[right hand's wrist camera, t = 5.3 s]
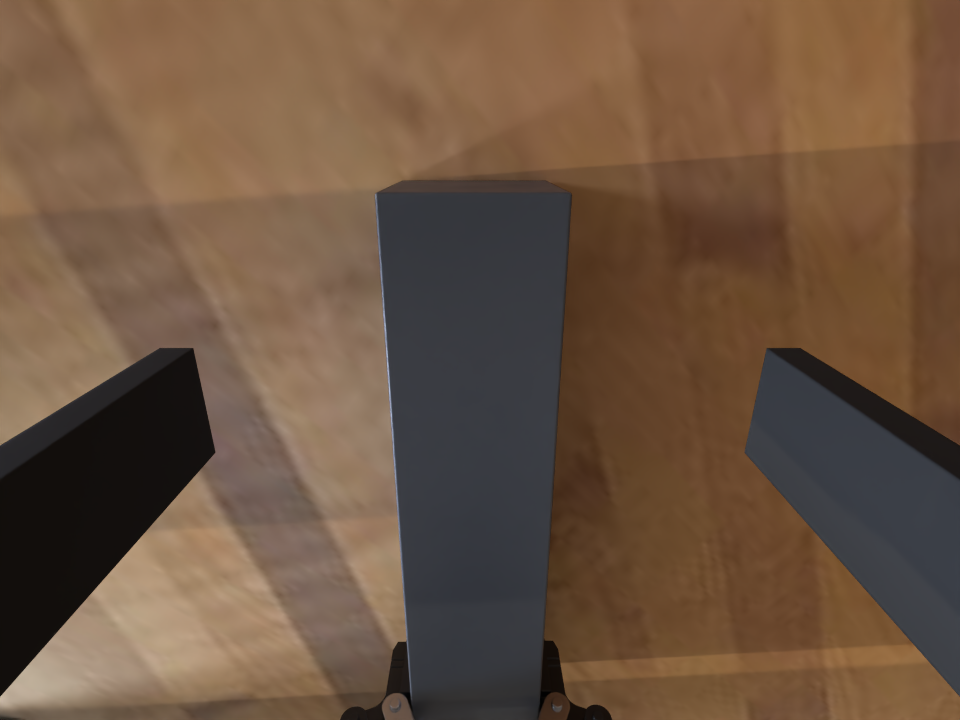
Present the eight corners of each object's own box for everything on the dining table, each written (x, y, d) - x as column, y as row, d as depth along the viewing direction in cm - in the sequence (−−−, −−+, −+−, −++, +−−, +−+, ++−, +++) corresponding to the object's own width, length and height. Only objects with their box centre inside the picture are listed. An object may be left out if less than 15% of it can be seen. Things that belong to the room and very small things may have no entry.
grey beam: (426, 666, 32) (416, 775, 26) (400, 180, 21) (374, 192, 16) (525, 665, 32) (535, 775, 26) (547, 180, 22) (572, 192, 16)
